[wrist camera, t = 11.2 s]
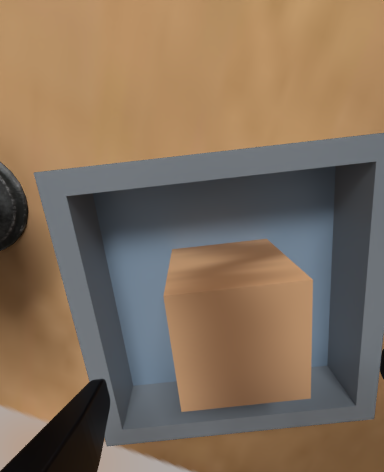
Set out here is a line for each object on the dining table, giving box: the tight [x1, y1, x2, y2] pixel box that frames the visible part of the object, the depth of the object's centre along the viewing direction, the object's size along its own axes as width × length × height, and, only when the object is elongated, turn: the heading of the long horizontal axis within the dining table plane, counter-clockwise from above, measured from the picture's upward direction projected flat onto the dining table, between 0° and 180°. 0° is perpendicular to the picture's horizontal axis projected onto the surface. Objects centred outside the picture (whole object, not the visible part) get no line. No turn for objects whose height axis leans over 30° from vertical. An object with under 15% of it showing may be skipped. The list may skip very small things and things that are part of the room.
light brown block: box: [163, 239, 313, 412], centre depth 11 cm, size 5×5×5 cm
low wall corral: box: [34, 133, 384, 446], centre depth 13 cm, size 14×14×3 cm
